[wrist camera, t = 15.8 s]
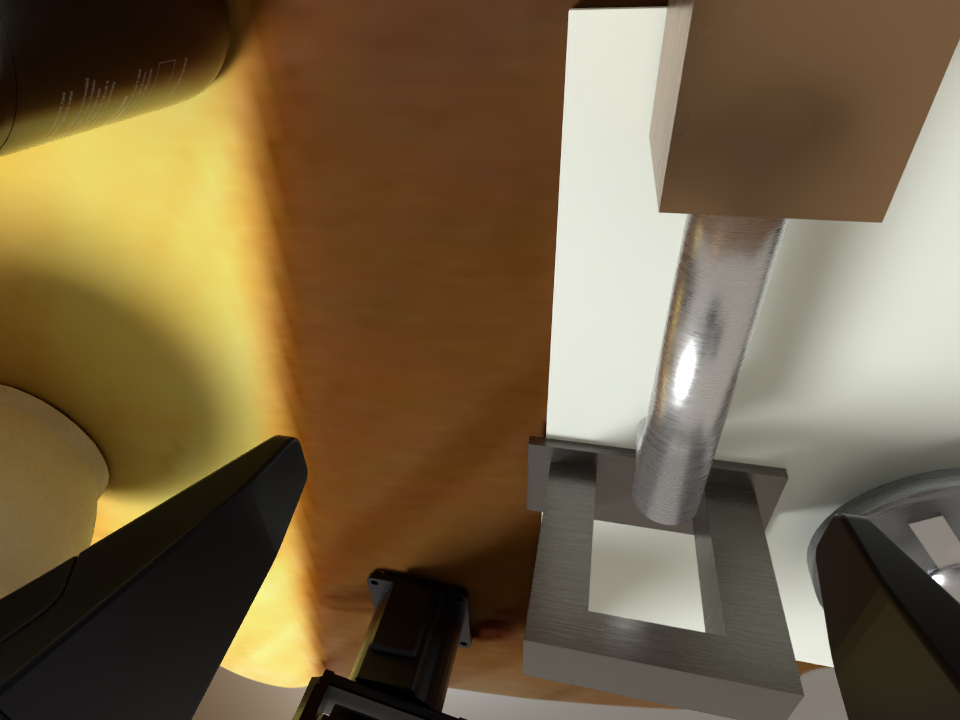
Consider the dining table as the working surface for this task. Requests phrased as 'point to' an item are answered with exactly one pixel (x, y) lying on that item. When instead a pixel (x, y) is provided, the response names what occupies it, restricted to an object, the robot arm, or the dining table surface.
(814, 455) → the white board
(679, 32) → the wooden mallet
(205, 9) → the supplement bottle
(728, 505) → the iron eye
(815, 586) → the handwheel
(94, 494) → the planter bowl
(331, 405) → the dining table surface
